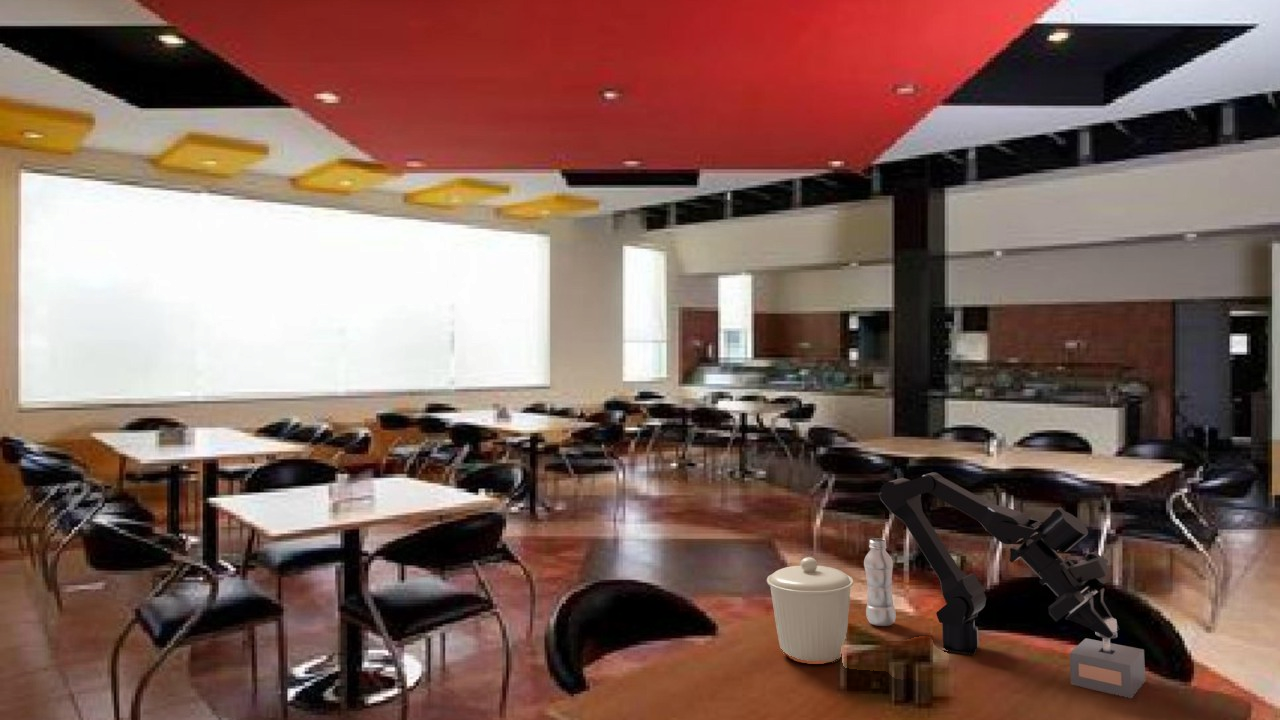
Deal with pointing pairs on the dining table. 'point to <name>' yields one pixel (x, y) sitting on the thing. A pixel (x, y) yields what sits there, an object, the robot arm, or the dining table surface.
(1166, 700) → the dining table surface
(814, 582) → the canister
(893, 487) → the robot arm
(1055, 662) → the dining table surface
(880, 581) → the plastic bottle
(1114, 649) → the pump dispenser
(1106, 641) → the pump plunger
